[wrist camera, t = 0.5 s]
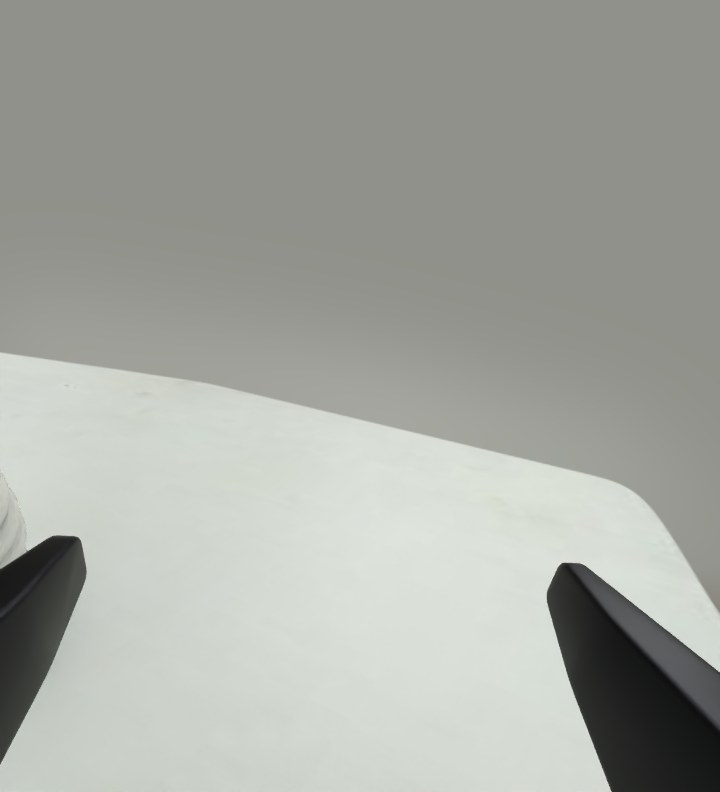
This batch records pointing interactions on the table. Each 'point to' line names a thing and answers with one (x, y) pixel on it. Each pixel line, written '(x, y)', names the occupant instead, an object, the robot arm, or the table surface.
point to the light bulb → (10, 525)
